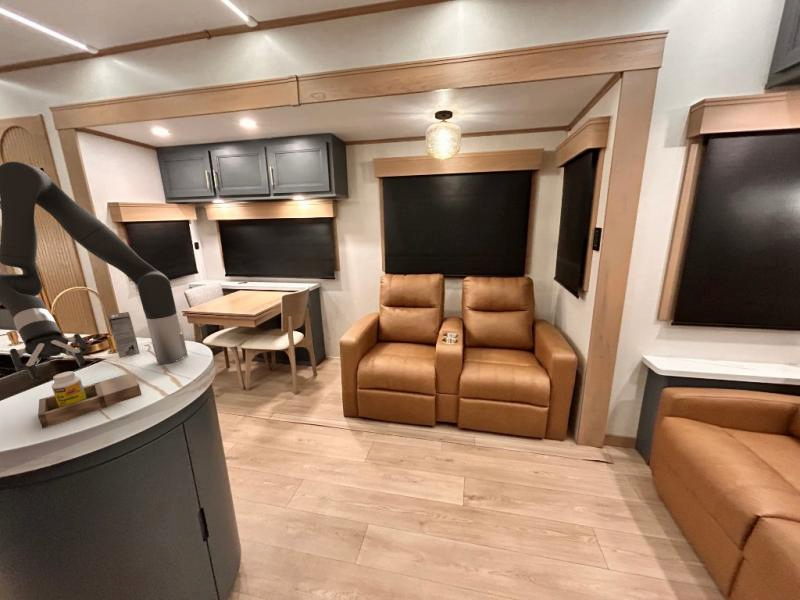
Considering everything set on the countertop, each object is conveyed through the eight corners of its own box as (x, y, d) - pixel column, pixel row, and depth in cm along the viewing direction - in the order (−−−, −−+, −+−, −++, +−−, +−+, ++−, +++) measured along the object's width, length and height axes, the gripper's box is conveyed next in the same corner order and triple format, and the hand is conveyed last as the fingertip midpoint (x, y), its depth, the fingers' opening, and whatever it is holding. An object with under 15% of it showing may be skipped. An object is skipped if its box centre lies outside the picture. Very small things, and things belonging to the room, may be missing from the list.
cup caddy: (134, 382, 103) (132, 372, 102) (141, 395, 94) (139, 384, 94) (43, 410, 88) (39, 399, 88) (42, 428, 80) (37, 416, 79)
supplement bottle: (57, 415, 85) (44, 381, 82) (64, 406, 90) (52, 373, 87) (85, 408, 88) (74, 375, 85) (90, 399, 92) (80, 367, 90)
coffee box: (118, 352, 129) (107, 314, 125) (138, 347, 133) (128, 311, 129) (119, 358, 123) (108, 319, 119) (140, 353, 127) (130, 315, 123)
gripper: (-3, 327, 84) (21, 376, 80) (71, 313, 95) (95, 355, 92) (1, 343, 88) (24, 390, 84) (71, 327, 99) (94, 368, 96)
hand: (61, 372), depth 88 cm, fingers open, 8 cm apart
